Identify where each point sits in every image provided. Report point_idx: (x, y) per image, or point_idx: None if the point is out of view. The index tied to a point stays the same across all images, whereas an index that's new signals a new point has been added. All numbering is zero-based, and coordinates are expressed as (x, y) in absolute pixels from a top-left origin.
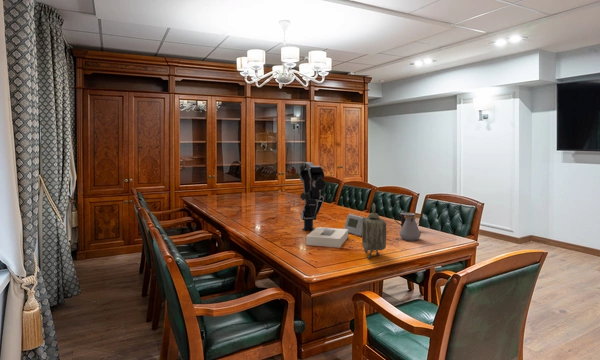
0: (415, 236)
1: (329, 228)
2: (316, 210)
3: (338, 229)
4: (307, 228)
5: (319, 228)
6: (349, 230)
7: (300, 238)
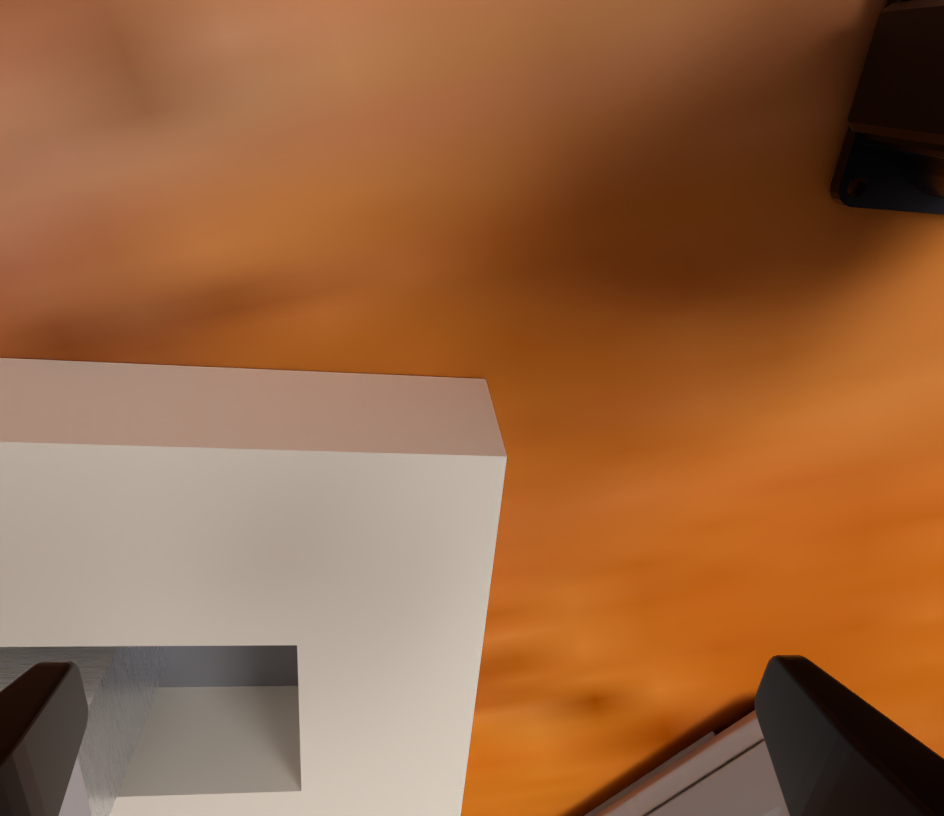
0: None
1: (69, 807)
2: (853, 776)
3: (385, 805)
4: (869, 89)
5: (364, 522)
6: (676, 798)
7: (13, 89)
